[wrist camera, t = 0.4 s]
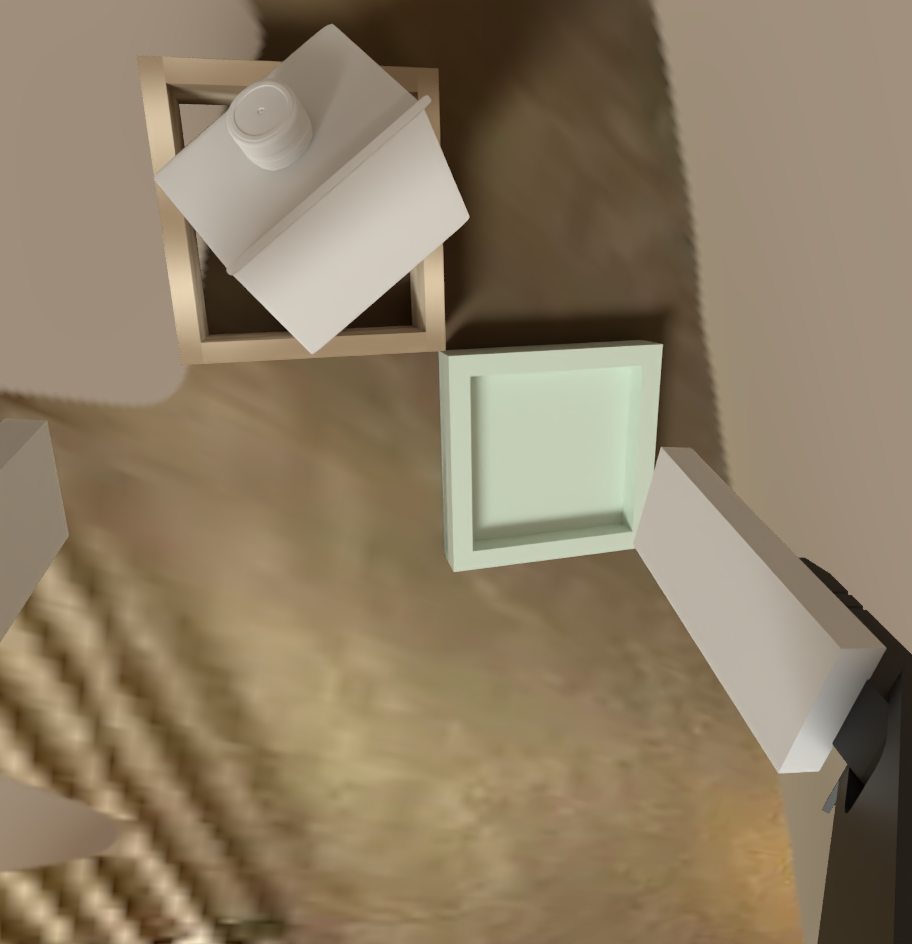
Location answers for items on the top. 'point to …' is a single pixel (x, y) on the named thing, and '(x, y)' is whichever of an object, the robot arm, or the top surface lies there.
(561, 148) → the top surface
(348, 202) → the milk carton
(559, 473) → the tray
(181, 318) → the holder
